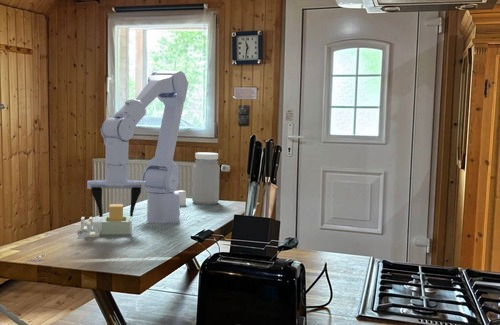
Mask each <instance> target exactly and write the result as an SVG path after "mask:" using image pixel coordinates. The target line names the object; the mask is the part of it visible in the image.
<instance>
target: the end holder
mask: <svg viewBox="0 0 500 325" xmlns="http://www.w3.org/2000/svg"><path fill="white" fill-rule="evenodd" d="M101 222H102V230H101V235H104V234H130V222H131V217H130V215H129V216H128V215H127V216H126V215H123V221H109V215H108V216H107V215H106V216H105V215H104V216H102V220H101Z"/></svg>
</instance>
